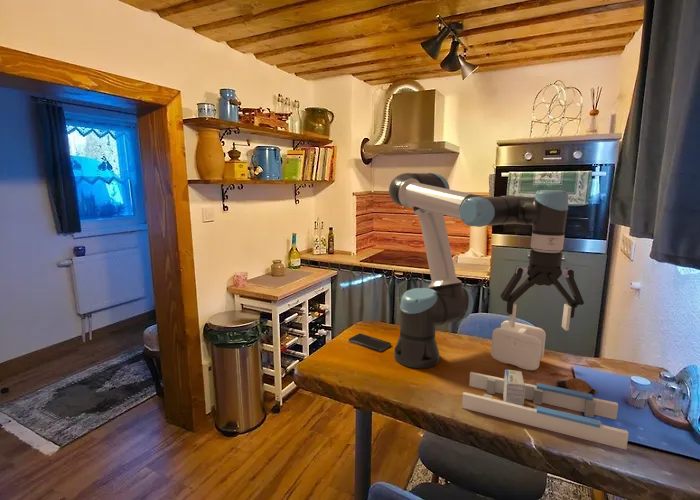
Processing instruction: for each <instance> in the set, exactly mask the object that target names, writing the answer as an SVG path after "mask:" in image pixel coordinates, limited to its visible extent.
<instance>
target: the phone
mask: <svg viewBox="0 0 700 500" xmlns="http://www.w3.org/2000/svg"><path fill="white" fill-rule="evenodd" d="M348 343H352V344H354V345H357V346H360V347H363V348H365V349H368V350H372V351H374V352H378V353H382V352H384V351H385V350H387V349H389V348H391V347H392V343H391V342H390V341H386V340H383V339H379V338H376V337H374V336H370V335H368V334H364V333H357V334H355V335H353V336H351V337H350V338H348Z"/></svg>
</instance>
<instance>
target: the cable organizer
mask: <svg viewBox="0 0 700 500" xmlns="http://www.w3.org/2000/svg"><path fill="white" fill-rule="evenodd" d="M491 333H492V334H491V345H490V346H491V348H490V355H491V357H492V358H493V359H495V360H496V361H498V362H499V363H503V364H509V365H512V366H514V367H515V366H516V367H518V368H520V369H523V370H525V371H536V370H538V368H539V367H540V363H541V362H540V361H541V360H542V359H543V358H544V356H545V348H546V347H545V345H546V336H547V335H546V334H547V333H546V332H545V330H544V329H543V328H541V327H537V326H533V325H529V324H525V323H521V322H517V321H515V327H511V326H510V324H509V320H504V321H503V322H501V324H500V327H496V328H494V329H493V331H492V332H491Z"/></svg>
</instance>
